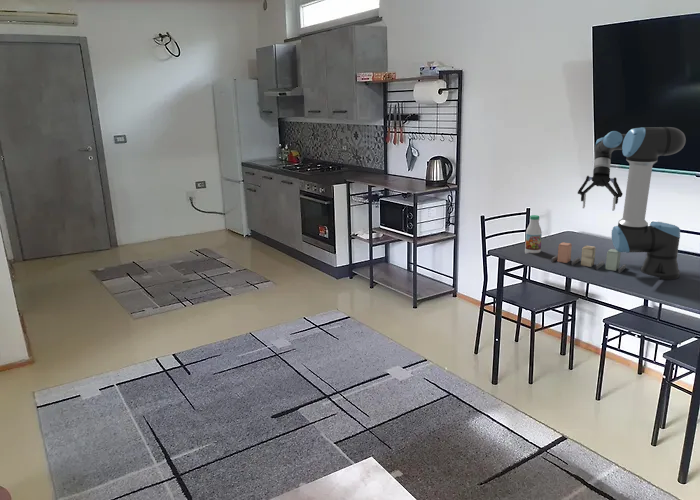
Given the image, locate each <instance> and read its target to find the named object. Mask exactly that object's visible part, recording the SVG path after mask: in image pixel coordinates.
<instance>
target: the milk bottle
mask: <svg viewBox="0 0 700 500" xmlns="http://www.w3.org/2000/svg"><path fill="white" fill-rule="evenodd" d="M529 221H530V222H529V224H528V226H527V228H526V231H525V241H524V243H525V245H524V253H525V254H526V255H527V254H529V253H530V254H539V253H541V251H542V250H541V249H542V228H541V225H540V215H537V214H536V215H535V214H532V215H530V216H529Z"/></svg>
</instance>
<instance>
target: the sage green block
mask: <svg viewBox="0 0 700 500" xmlns="http://www.w3.org/2000/svg"><path fill="white" fill-rule="evenodd" d="M621 254H622V252H618V251H617V250H616V249H615V248H610V249H609V250H607V252H606V259H605V270H607V271H608V270H609V271H614V272H616V271H618V269H619V268H620V264H621Z"/></svg>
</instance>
